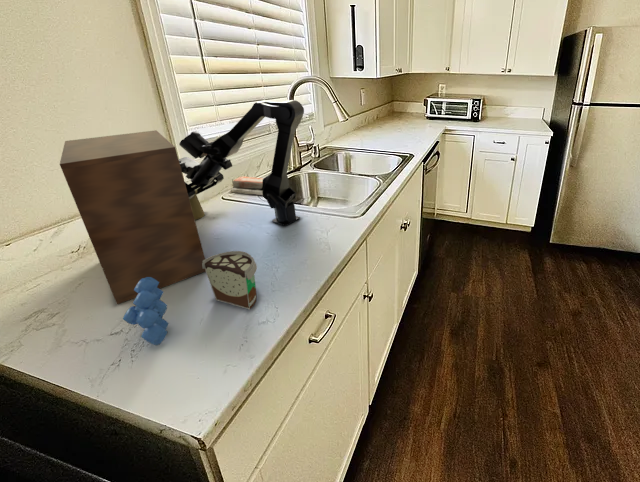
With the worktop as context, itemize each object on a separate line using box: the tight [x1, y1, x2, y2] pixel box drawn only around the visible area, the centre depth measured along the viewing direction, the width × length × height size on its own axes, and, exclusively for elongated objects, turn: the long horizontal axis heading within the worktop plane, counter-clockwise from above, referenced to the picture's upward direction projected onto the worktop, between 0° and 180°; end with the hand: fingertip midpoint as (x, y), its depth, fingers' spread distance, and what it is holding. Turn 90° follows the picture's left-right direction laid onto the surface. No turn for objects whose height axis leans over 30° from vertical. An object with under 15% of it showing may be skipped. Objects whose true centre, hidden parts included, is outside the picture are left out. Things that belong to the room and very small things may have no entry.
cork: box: [189, 189, 205, 221], centre depth 109 cm, size 6×6×11 cm
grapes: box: [122, 277, 170, 346], centre depth 60 cm, size 12×7×12 cm, turn 31°
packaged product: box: [229, 175, 264, 196], centre depth 133 cm, size 18×5×10 cm
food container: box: [202, 250, 258, 311], centre depth 71 cm, size 12×6×10 cm, turn 71°
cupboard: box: [59, 129, 206, 305], centre depth 80 cm, size 18×26×32 cm
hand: (186, 198), depth 109 cm, fingers open, 8 cm apart
